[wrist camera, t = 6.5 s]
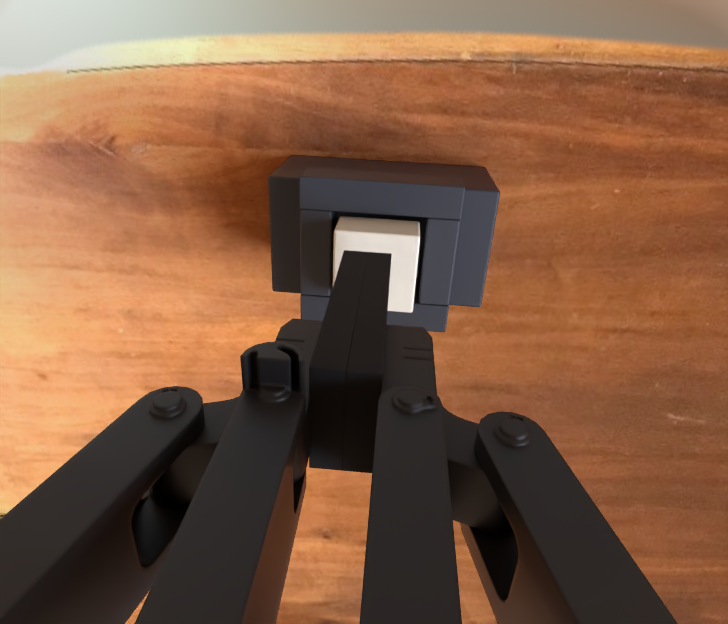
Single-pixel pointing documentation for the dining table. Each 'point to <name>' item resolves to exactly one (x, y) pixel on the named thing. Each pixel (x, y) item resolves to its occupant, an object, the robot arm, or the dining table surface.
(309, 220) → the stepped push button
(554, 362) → the dining table surface
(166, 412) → the robot arm
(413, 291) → the key
